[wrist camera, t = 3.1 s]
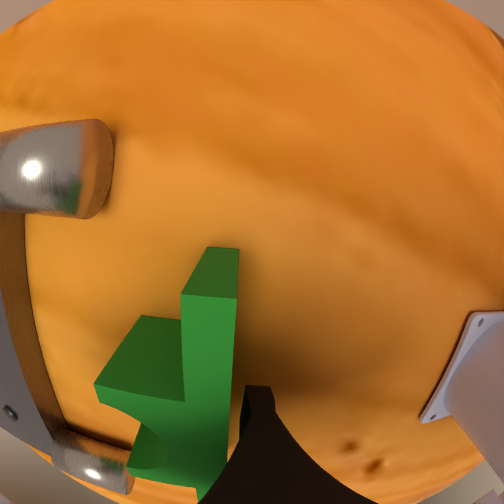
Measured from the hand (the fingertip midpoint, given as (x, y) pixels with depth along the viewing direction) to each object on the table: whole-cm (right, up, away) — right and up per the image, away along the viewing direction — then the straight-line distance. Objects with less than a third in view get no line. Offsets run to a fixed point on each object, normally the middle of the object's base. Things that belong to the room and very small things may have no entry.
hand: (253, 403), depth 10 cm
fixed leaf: (-12, +2, 0) cm, 12 cm away
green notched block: (-3, +1, +1) cm, 3 cm away
